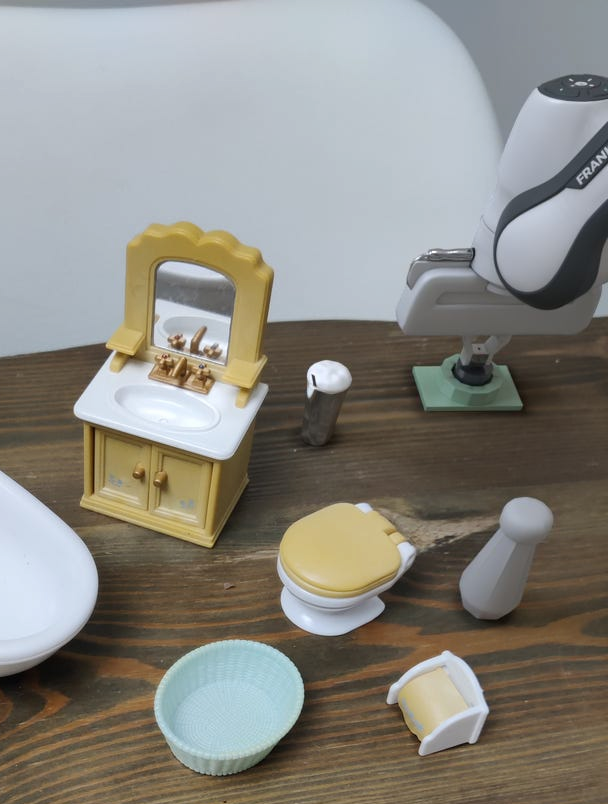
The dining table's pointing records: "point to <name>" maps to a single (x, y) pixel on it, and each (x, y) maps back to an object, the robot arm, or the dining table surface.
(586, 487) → the dining table surface
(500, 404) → the green base push button
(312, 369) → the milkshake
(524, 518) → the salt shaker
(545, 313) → the robot arm
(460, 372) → the button
